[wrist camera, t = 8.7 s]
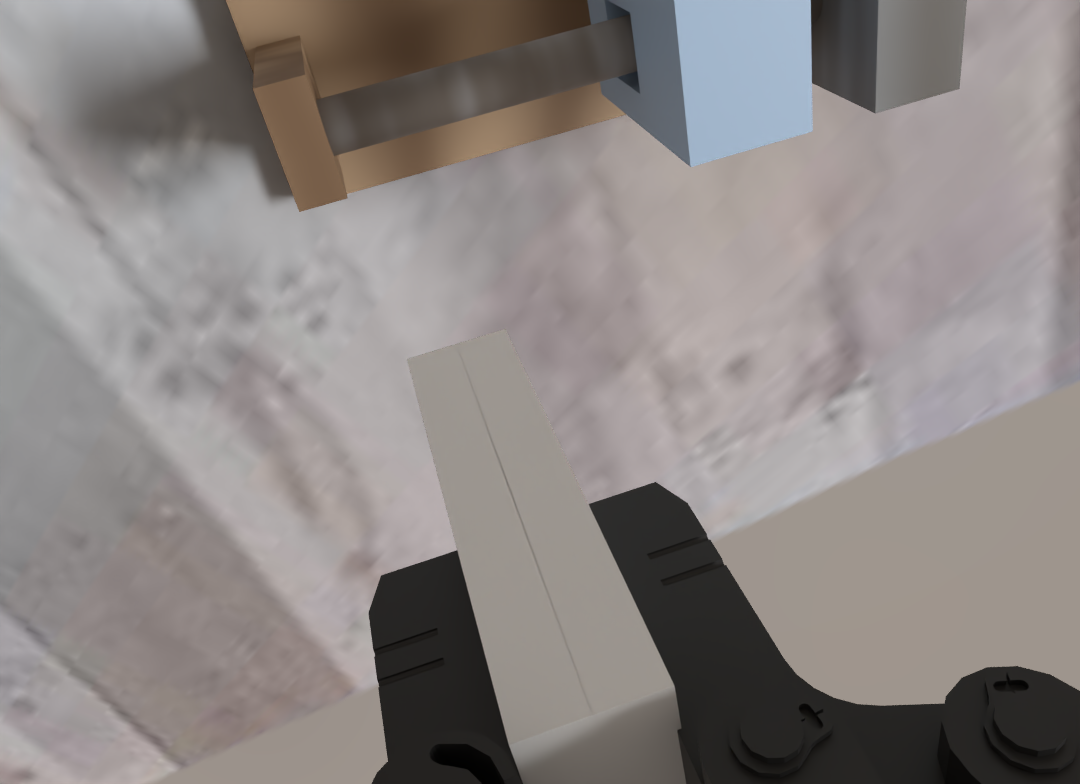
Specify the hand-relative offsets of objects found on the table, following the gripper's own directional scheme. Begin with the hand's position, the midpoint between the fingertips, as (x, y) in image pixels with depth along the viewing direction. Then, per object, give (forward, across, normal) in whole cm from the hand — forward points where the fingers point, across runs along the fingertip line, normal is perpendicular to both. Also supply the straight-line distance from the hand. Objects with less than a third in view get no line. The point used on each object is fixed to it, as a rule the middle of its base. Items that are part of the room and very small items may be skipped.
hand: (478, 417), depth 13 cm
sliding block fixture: (+24, +8, 0) cm, 25 cm away
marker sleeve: (+22, +11, 0) cm, 24 cm away
